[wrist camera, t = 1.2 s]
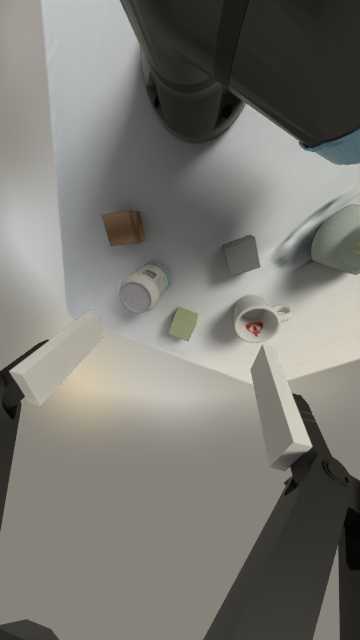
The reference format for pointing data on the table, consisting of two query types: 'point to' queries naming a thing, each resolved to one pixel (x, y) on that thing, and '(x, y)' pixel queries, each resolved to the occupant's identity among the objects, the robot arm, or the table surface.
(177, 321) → the olive block
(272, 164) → the table surface
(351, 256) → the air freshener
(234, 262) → the charcoal block
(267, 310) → the cup
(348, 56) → the robot arm
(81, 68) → the table surface
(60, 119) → the table surface
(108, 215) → the walnut block
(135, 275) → the beverage can
